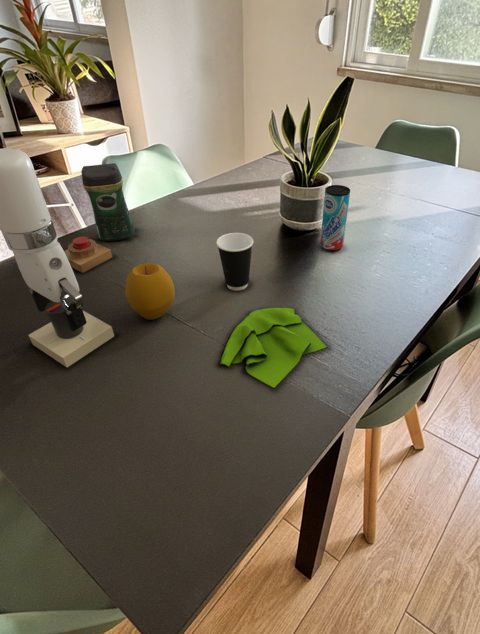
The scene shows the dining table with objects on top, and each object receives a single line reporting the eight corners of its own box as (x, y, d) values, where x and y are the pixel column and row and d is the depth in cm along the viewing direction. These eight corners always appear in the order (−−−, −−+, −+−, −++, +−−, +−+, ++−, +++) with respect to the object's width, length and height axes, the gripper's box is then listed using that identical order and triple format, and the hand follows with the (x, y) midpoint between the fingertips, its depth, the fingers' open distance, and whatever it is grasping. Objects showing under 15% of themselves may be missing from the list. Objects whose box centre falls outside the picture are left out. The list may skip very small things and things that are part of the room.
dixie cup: (213, 288, 97) (208, 244, 90) (232, 272, 102) (229, 229, 95) (242, 298, 94) (240, 253, 87) (261, 281, 99) (260, 237, 92)
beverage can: (315, 246, 111) (319, 189, 101) (330, 239, 114) (336, 182, 104) (332, 254, 108) (338, 196, 98) (347, 247, 111) (355, 190, 101)
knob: (73, 319, 85) (63, 293, 81) (89, 328, 82) (79, 302, 78) (51, 332, 82) (39, 305, 78) (66, 342, 80) (54, 315, 75)
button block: (60, 261, 106) (54, 247, 104) (90, 247, 112) (85, 233, 109) (82, 273, 102) (77, 258, 100) (112, 257, 108) (108, 243, 105)
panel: (32, 344, 83) (27, 334, 81) (80, 316, 90) (76, 306, 88) (67, 367, 78) (62, 357, 76) (114, 336, 85) (111, 325, 83)
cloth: (294, 302, 93) (294, 293, 91) (342, 369, 77) (343, 359, 76) (203, 323, 87) (201, 314, 86) (234, 399, 72) (234, 389, 71)
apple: (165, 333, 85) (155, 284, 77) (122, 324, 87) (108, 275, 80) (186, 305, 92) (178, 257, 84) (146, 298, 94) (134, 250, 86)
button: (71, 247, 104) (69, 241, 103) (84, 241, 106) (82, 235, 105) (80, 251, 103) (78, 245, 101) (93, 245, 105) (91, 239, 104)
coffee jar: (134, 226, 120) (119, 158, 108) (135, 239, 114) (119, 168, 102) (99, 231, 118) (79, 161, 106) (98, 244, 113) (77, 172, 100)
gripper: (83, 240, 67) (108, 324, 79) (21, 211, 75) (52, 292, 86) (40, 260, 63) (74, 346, 74) (-22, 227, 70) (18, 310, 82)
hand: (62, 317), depth 80 cm, fingers open, 9 cm apart
